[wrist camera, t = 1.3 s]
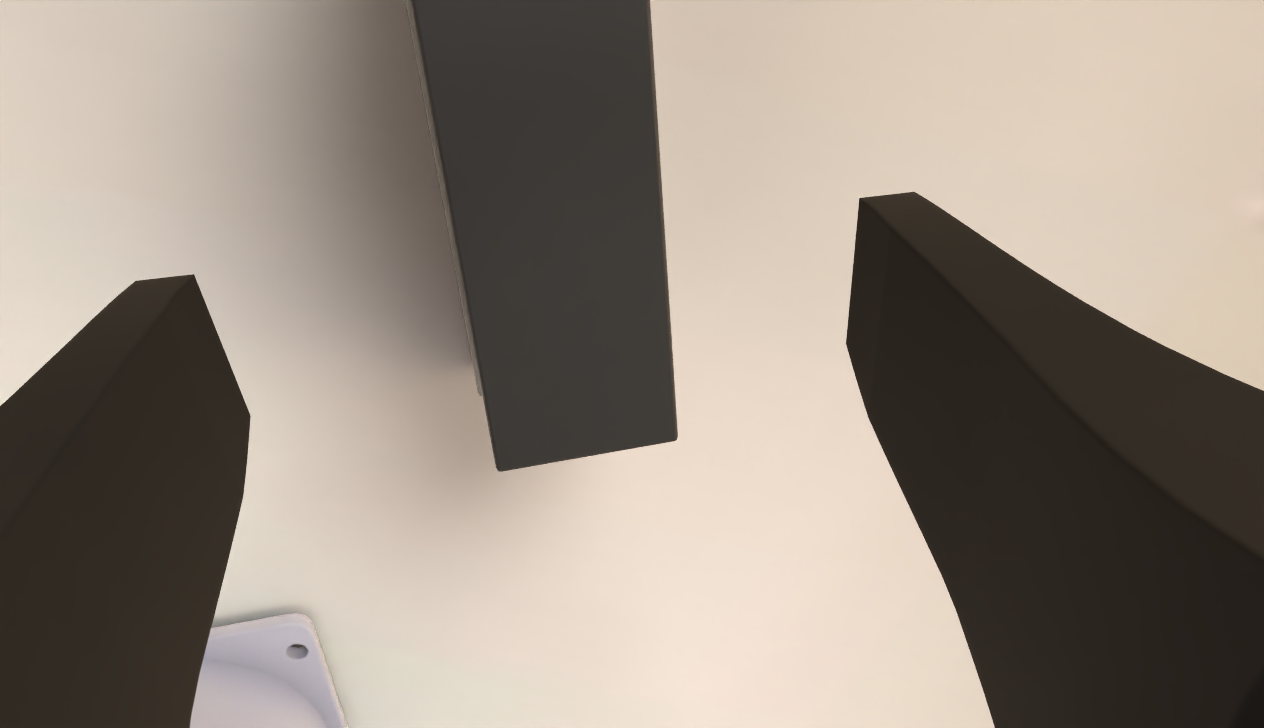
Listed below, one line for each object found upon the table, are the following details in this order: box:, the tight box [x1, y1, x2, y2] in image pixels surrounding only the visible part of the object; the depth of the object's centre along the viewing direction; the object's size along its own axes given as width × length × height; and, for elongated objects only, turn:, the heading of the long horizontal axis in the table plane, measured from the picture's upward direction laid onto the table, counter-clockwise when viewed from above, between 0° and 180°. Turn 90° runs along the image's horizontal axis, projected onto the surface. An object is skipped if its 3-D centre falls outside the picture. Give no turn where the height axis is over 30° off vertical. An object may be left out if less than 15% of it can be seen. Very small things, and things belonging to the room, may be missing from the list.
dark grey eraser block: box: [405, 0, 678, 471], centre depth 19 cm, size 12×4×5 cm, turn 4°
